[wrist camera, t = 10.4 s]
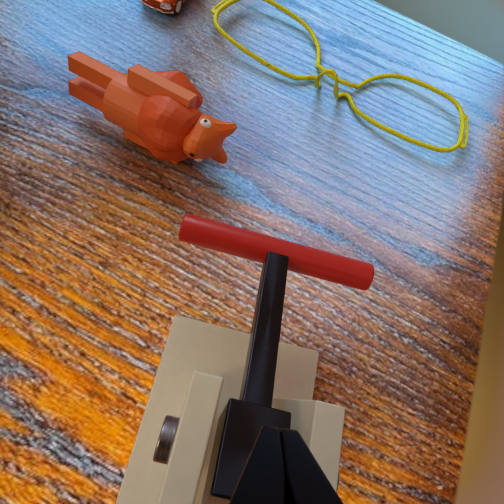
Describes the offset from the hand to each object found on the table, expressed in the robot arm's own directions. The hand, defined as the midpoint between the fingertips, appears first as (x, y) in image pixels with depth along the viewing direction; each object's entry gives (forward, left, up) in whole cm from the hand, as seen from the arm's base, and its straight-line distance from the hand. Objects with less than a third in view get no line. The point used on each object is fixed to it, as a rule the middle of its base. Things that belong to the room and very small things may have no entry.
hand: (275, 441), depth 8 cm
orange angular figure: (+20, +5, -14) cm, 25 cm away
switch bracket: (-1, 0, -13) cm, 13 cm away
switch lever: (+3, -1, -7) cm, 8 cm away
